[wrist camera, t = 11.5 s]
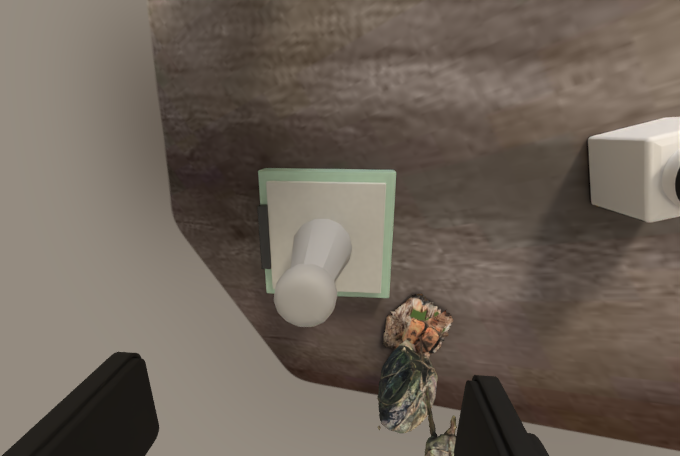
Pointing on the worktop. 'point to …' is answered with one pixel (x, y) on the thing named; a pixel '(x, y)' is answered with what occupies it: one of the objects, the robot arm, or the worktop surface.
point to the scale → (337, 205)
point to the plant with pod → (414, 371)
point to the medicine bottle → (637, 170)
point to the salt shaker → (313, 273)
